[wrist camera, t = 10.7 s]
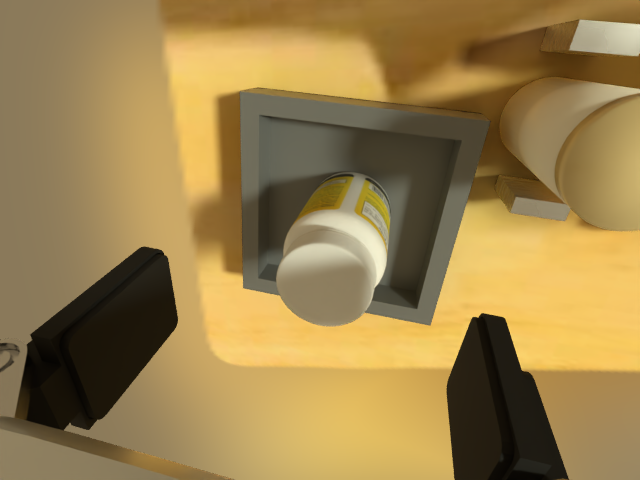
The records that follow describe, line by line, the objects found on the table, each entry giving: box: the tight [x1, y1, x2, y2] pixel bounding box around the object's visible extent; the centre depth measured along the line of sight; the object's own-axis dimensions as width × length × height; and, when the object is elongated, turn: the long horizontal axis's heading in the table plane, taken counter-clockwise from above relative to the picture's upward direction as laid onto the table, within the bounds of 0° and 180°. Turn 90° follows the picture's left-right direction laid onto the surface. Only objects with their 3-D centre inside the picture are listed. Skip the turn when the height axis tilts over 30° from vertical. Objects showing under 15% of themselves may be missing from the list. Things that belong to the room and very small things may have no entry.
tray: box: [240, 88, 491, 325], centre depth 21 cm, size 12×12×2 cm
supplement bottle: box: [276, 172, 391, 326], centre depth 18 cm, size 5×5×8 cm
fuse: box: [499, 77, 640, 231], centre depth 14 cm, size 4×4×9 cm
